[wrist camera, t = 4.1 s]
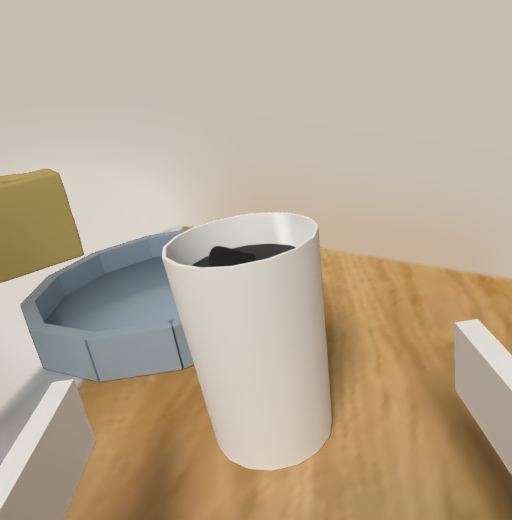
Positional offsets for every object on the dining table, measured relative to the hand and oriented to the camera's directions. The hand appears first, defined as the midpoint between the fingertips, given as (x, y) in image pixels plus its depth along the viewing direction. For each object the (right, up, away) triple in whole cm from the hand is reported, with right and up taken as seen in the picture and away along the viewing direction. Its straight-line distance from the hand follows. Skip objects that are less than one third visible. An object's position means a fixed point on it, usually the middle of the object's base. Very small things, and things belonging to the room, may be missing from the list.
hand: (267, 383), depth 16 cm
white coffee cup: (+1, -4, +7) cm, 8 cm away
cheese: (-27, +4, +40) cm, 48 cm away
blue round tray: (-8, +1, +23) cm, 24 cm away
